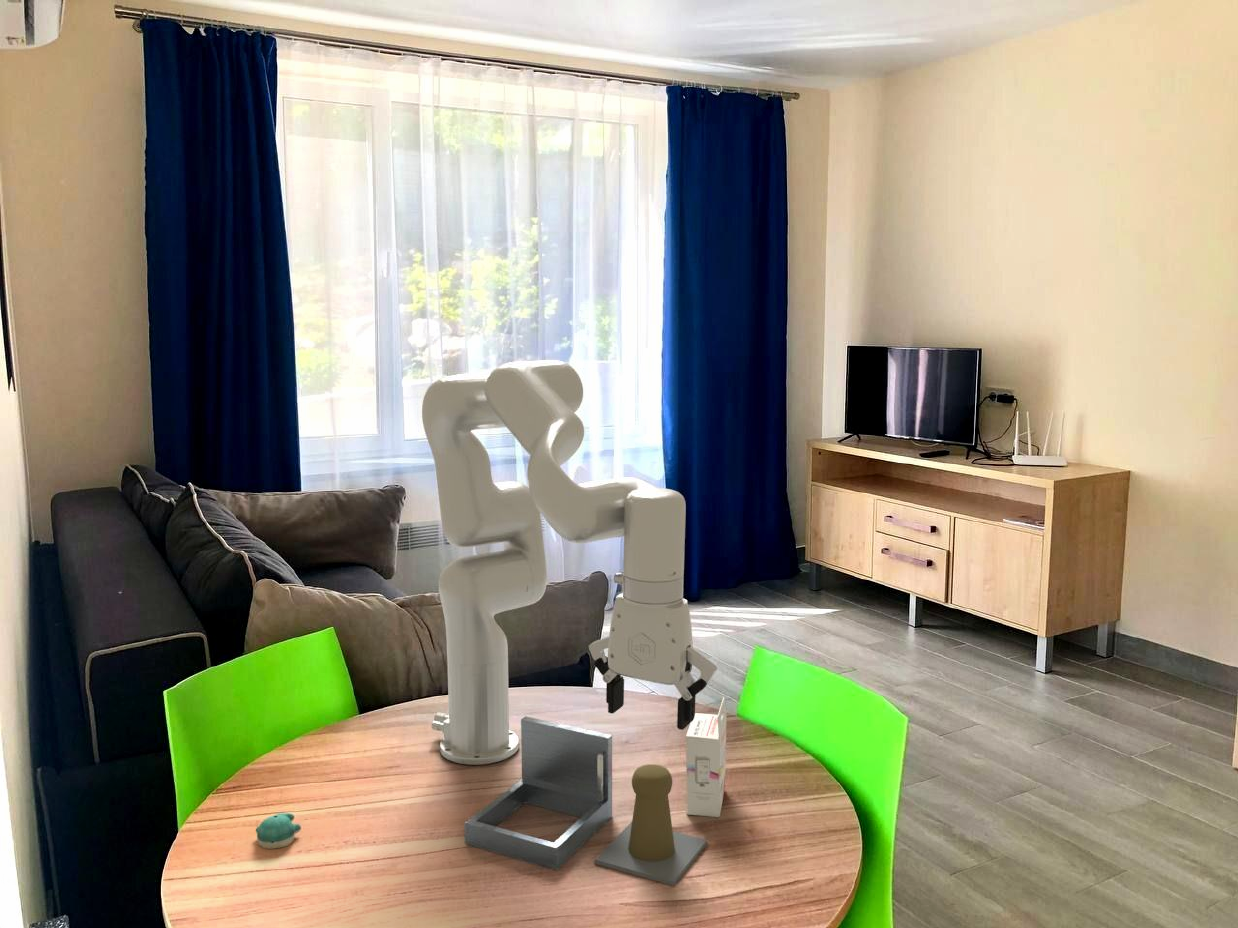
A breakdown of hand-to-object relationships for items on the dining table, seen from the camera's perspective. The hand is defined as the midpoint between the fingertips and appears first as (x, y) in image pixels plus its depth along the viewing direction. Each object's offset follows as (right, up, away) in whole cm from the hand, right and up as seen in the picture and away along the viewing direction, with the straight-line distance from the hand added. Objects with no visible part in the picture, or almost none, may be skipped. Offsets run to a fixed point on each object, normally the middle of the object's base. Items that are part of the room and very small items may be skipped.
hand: (649, 717), depth 128 cm
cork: (0, -18, +2) cm, 18 cm away
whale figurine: (-49, -18, +7) cm, 53 cm away
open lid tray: (-15, -17, +8) cm, 24 cm away
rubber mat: (0, -18, +2) cm, 18 cm away
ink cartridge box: (+9, -16, +16) cm, 25 cm away
